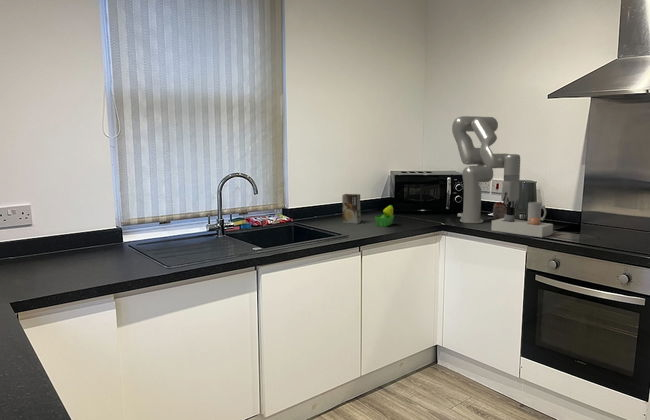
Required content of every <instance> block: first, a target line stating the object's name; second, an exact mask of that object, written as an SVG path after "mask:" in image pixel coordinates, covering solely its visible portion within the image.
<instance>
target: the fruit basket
mask: <svg viewBox="0 0 650 420" xmlns="http://www.w3.org/2000/svg"><path fill="white" fill-rule="evenodd" d="M382 212H383V214H380V215H376V216H375V217H374V220H375V223H376V226H377V227H383V228H384V227H385V228H386V227H388V226H391V225H392V223H393V221H394V220H393V219H394V218H395V215H393V214H394V207H393V205H392V204H389V205H388V206H386V207H385V208H384V209H382Z"/></svg>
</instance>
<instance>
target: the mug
mask: <svg viewBox="0 0 650 420" xmlns="http://www.w3.org/2000/svg"><path fill="white" fill-rule="evenodd" d="M542 204H543V203H542V202H538V201H528V205H527V221H529V217H538V218H540V221H544V220H545V218H546V216H547V208H546V205H542ZM542 209H543V216H542V215H541V214H542Z"/></svg>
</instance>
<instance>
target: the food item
mask: <svg viewBox="0 0 650 420" xmlns="http://www.w3.org/2000/svg"><path fill="white" fill-rule="evenodd" d="M505 206H506V205H505ZM505 206H504V202H503V201H499V202H495V203H494V204H493V206H492V216H493V219H494V220H497V219H501V218H504V216H505V214H506V213H507V208H506V207H505Z"/></svg>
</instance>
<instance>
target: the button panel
mask: <svg viewBox="0 0 650 420" xmlns="http://www.w3.org/2000/svg"><path fill="white" fill-rule="evenodd" d="M490 229H491V231H492V232H493V231H494V232H501V233H508V234H514V235H515V234H516V235H523V236H529V237H537V238H544V237H548V236H551V235H553V234H554V233H553V231H554V224H553V223H549V222H548V223H546V222H540V225H531V224H529V221H528V220H524V219H515V222H506V221H504V218H501V219H493V220H491V228H490Z"/></svg>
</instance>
